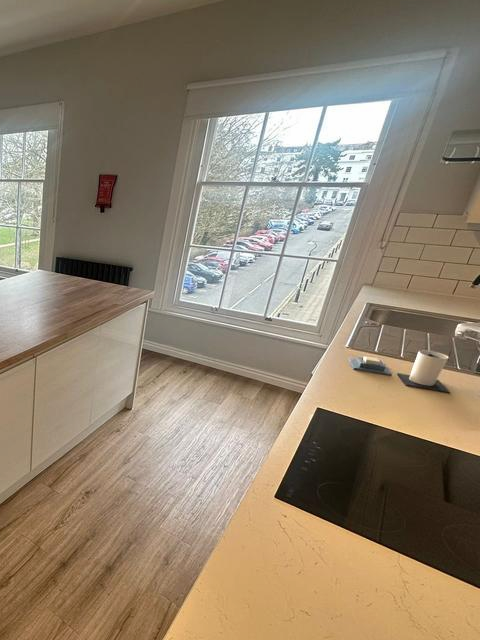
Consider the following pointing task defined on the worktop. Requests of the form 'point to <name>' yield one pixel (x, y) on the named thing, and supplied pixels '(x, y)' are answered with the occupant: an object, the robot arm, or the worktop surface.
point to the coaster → (436, 387)
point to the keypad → (369, 367)
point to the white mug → (427, 367)
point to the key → (371, 360)
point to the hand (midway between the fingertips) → (474, 339)
